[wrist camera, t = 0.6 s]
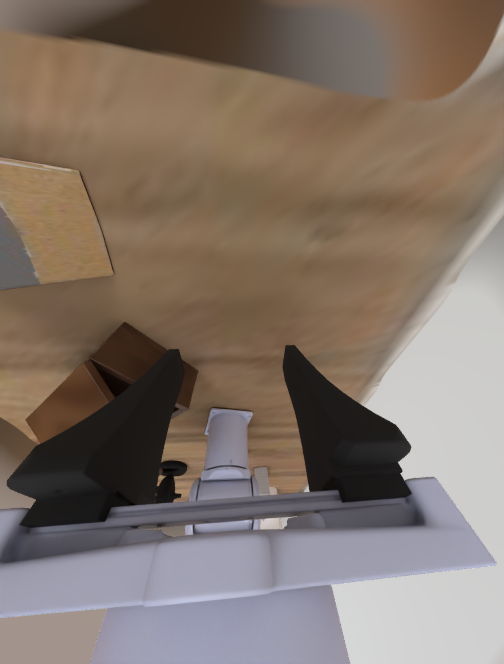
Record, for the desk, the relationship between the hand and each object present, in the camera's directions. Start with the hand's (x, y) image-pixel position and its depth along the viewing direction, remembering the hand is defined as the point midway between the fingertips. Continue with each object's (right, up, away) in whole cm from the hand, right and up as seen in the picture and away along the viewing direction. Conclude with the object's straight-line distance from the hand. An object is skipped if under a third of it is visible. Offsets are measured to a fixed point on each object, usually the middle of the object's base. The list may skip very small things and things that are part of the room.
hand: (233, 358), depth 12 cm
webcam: (-20, -34, +36) cm, 53 cm away
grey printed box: (+4, -40, +42) cm, 58 cm away
